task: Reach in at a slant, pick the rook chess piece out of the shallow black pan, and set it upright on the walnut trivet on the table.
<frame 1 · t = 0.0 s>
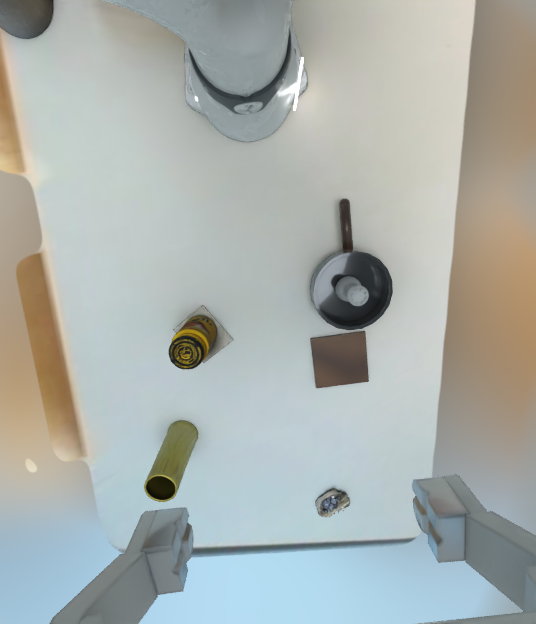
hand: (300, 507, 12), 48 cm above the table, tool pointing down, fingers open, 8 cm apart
condiment: (203, 334, 61), on the table
walnut trivet: (339, 359, 62), on the table
pillar candle: (21, 2, 48), on the table
pan handle: (346, 227, 53), point 2 cm above the table
vase: (183, 433, 66), on the table
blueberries: (331, 502, 70), on the table
pan: (347, 287, 58), on the table
rook chess piece: (347, 288, 58), resting on pan
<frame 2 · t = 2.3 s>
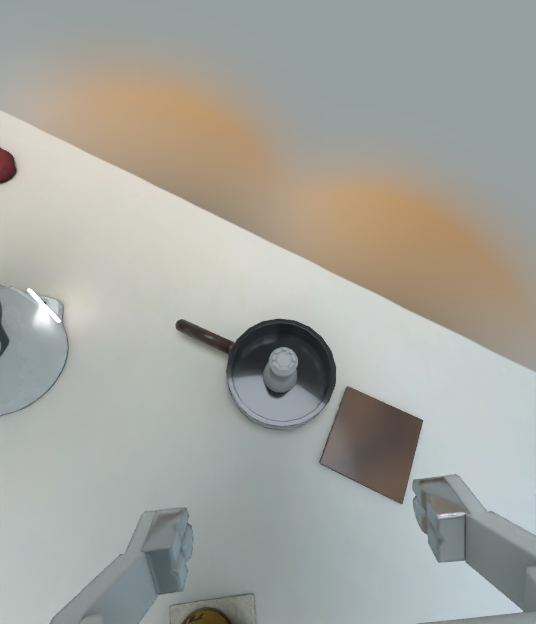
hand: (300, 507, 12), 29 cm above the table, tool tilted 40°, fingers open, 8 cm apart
walnut trivet: (371, 441, 40), on the table
pan handle: (206, 336, 42), point 2 cm above the table
pan: (279, 376, 43), on the table
rook chess piece: (279, 376, 43), resting on pan
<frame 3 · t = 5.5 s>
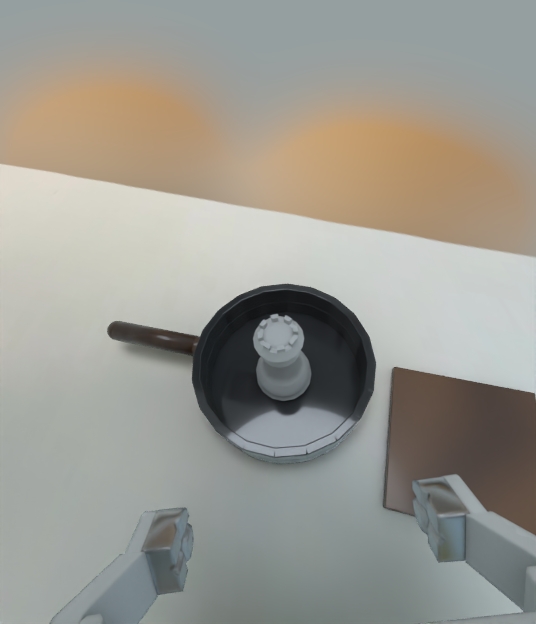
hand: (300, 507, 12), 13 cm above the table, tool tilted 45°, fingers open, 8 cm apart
walnut trivet: (461, 448, 23), on the table
pan handle: (156, 338, 27), point 2 cm above the table
pan: (284, 376, 27), on the table
rook chess piece: (284, 376, 27), resting on pan
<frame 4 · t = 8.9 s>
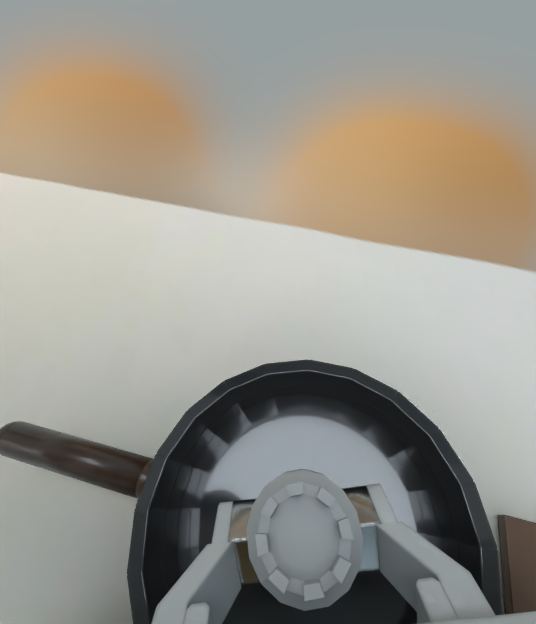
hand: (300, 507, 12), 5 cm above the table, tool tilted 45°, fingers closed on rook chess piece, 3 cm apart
pan handle: (77, 457, 15), point 2 cm above the table
pan: (303, 522, 16), on the table
rook chess piece: (304, 522, 15), resting on pan, touching gripper
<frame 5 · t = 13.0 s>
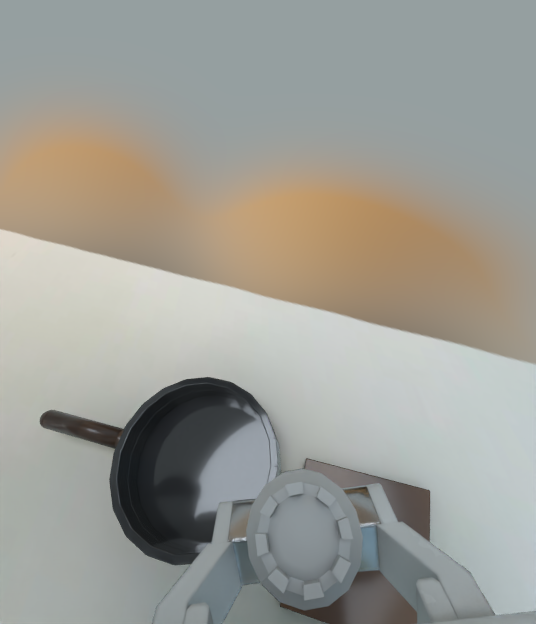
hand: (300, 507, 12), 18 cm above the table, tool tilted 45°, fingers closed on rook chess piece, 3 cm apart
walnut trivet: (357, 544, 25), on the table
pan handle: (85, 428, 29), point 2 cm above the table
pan: (206, 464, 29), on the table
rook chess piece: (303, 522, 15), point 13 cm above the table, touching gripper
when the fingers open (5 cm above the table, at t = 17.3 s): rook chess piece stays where it is, resting on walnut trivet.
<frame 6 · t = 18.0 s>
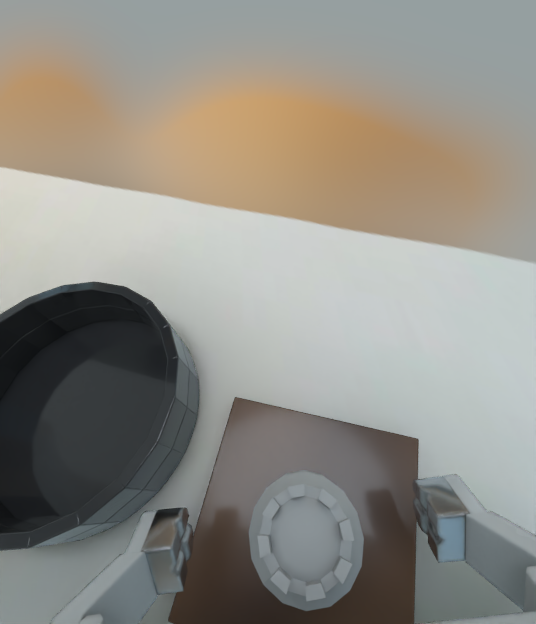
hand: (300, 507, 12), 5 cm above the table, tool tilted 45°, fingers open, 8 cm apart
walnut trivet: (304, 521, 16), on the table
pan: (92, 409, 20), on the table
rook chess piece: (304, 523, 16), resting on walnut trivet
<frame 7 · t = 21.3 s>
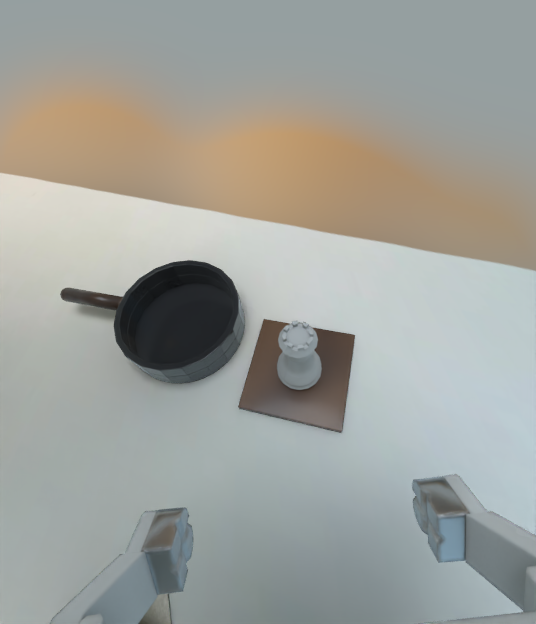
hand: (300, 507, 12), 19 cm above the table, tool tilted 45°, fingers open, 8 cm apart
walnut trivet: (299, 371, 34), on the table
pan handle: (95, 299, 37), point 2 cm above the table
pan: (188, 327, 38), on the table
rook chess piece: (299, 370, 33), resting on walnut trivet
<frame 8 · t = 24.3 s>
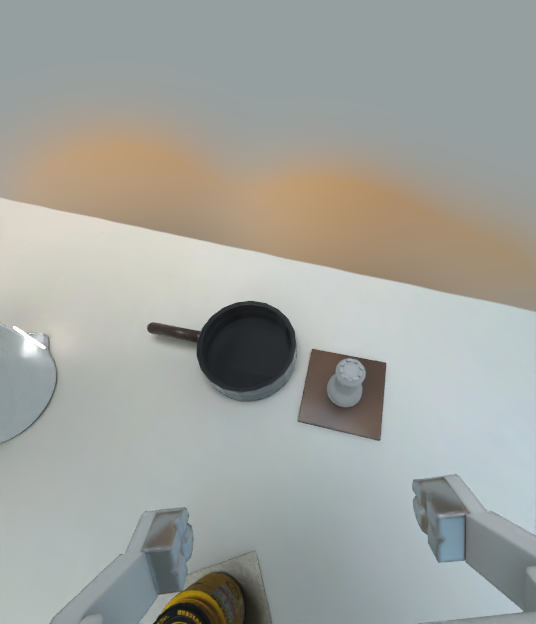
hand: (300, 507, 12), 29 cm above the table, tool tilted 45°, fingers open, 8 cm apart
condiment: (225, 606, 33), on the table
walnut trivet: (343, 392, 43), on the table
pan handle: (175, 332, 46), point 2 cm above the table
pan: (250, 355, 47), on the table
rook chess piece: (343, 391, 43), resting on walnut trivet
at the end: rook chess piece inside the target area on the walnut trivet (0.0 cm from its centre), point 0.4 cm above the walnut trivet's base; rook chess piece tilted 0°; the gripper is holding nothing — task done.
